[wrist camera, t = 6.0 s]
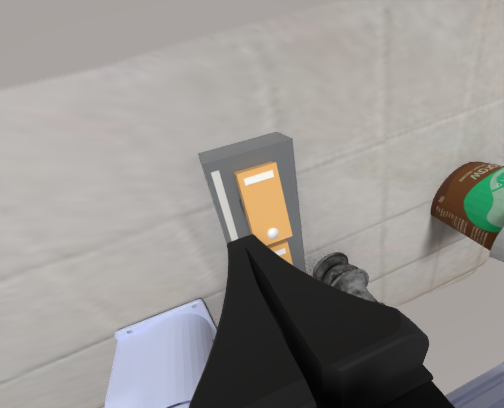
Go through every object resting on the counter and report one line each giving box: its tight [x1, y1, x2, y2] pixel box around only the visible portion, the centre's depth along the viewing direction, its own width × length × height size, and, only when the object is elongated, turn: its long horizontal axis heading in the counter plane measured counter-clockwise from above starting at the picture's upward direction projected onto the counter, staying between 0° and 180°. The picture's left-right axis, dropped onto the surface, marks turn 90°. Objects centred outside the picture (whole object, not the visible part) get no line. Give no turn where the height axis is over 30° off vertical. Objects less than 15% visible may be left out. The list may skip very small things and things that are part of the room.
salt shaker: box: [313, 252, 385, 305], centre depth 25 cm, size 6×6×12 cm
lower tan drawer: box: [267, 239, 293, 265], centre depth 21 cm, size 3×6×1 cm, turn 11°
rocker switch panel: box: [198, 132, 306, 273], centre depth 23 cm, size 7×22×4 cm, turn 11°
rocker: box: [234, 161, 293, 246], centre depth 18 cm, size 3×6×1 cm, turn 11°
